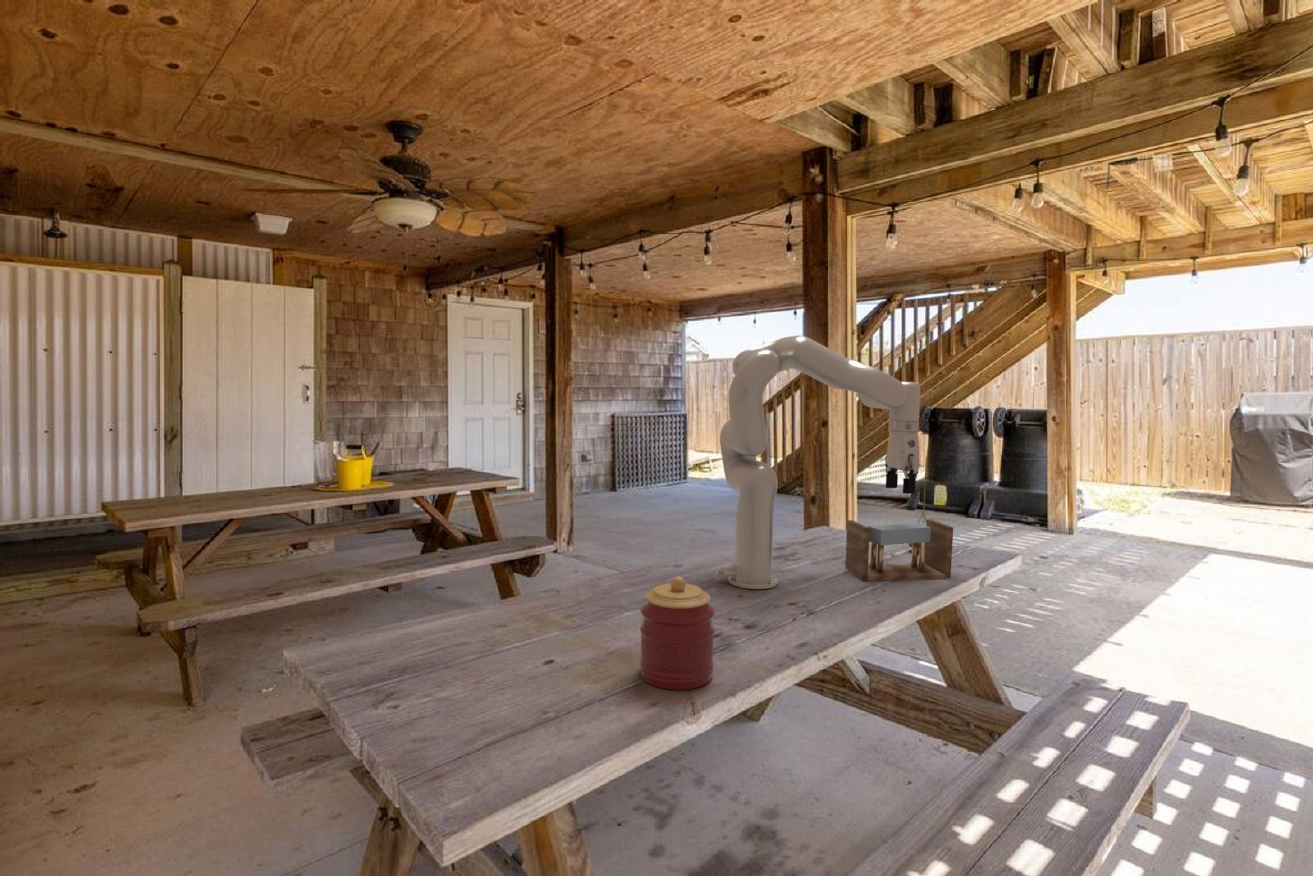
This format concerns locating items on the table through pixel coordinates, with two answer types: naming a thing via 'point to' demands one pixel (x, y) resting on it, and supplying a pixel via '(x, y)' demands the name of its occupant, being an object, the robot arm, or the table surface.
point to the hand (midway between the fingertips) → (899, 490)
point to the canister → (677, 636)
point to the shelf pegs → (922, 550)
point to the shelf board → (899, 534)
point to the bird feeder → (923, 509)
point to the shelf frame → (935, 564)
